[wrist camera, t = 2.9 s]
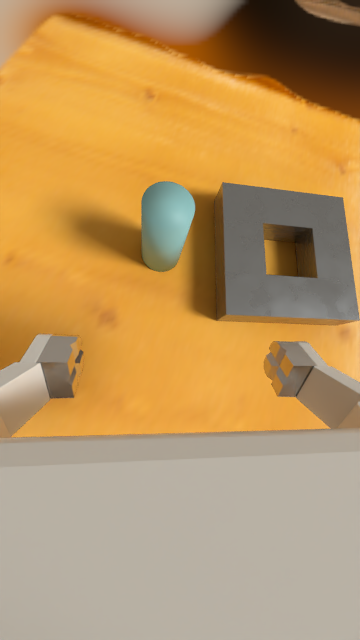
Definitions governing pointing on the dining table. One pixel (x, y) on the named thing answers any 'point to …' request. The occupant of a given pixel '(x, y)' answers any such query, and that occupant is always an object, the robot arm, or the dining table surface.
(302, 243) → the socket block
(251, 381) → the dining table surface
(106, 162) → the dining table surface
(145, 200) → the teal peg
